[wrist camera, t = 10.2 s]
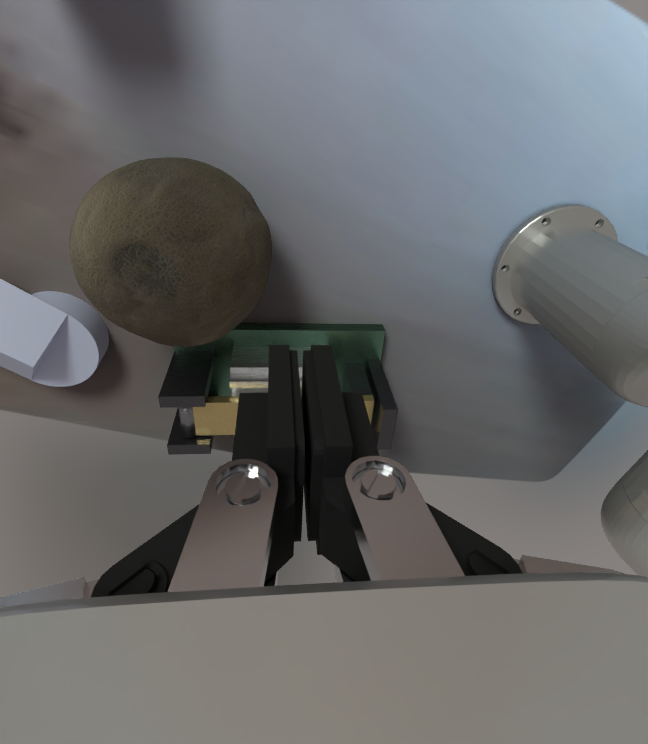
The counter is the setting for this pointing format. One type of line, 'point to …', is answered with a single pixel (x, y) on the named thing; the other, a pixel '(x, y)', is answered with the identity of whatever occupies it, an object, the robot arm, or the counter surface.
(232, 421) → the retention strap
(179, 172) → the cantaloupe
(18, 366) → the wedge on round base
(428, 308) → the counter surface
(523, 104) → the counter surface
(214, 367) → the cooling block
